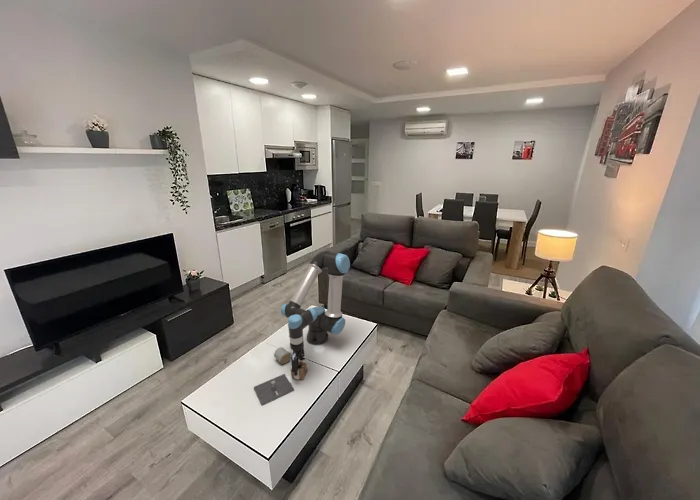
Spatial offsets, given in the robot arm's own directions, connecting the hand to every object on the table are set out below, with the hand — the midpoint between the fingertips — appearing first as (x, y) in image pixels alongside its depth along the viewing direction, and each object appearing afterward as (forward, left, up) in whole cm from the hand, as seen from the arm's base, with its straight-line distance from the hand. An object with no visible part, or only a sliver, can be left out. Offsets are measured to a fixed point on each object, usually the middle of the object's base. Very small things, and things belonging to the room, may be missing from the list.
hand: (299, 373), depth 170 cm
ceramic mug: (+2, -18, -1) cm, 18 cm away
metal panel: (+16, +2, -1) cm, 17 cm away
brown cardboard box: (0, 0, 0) cm, 0 cm away
